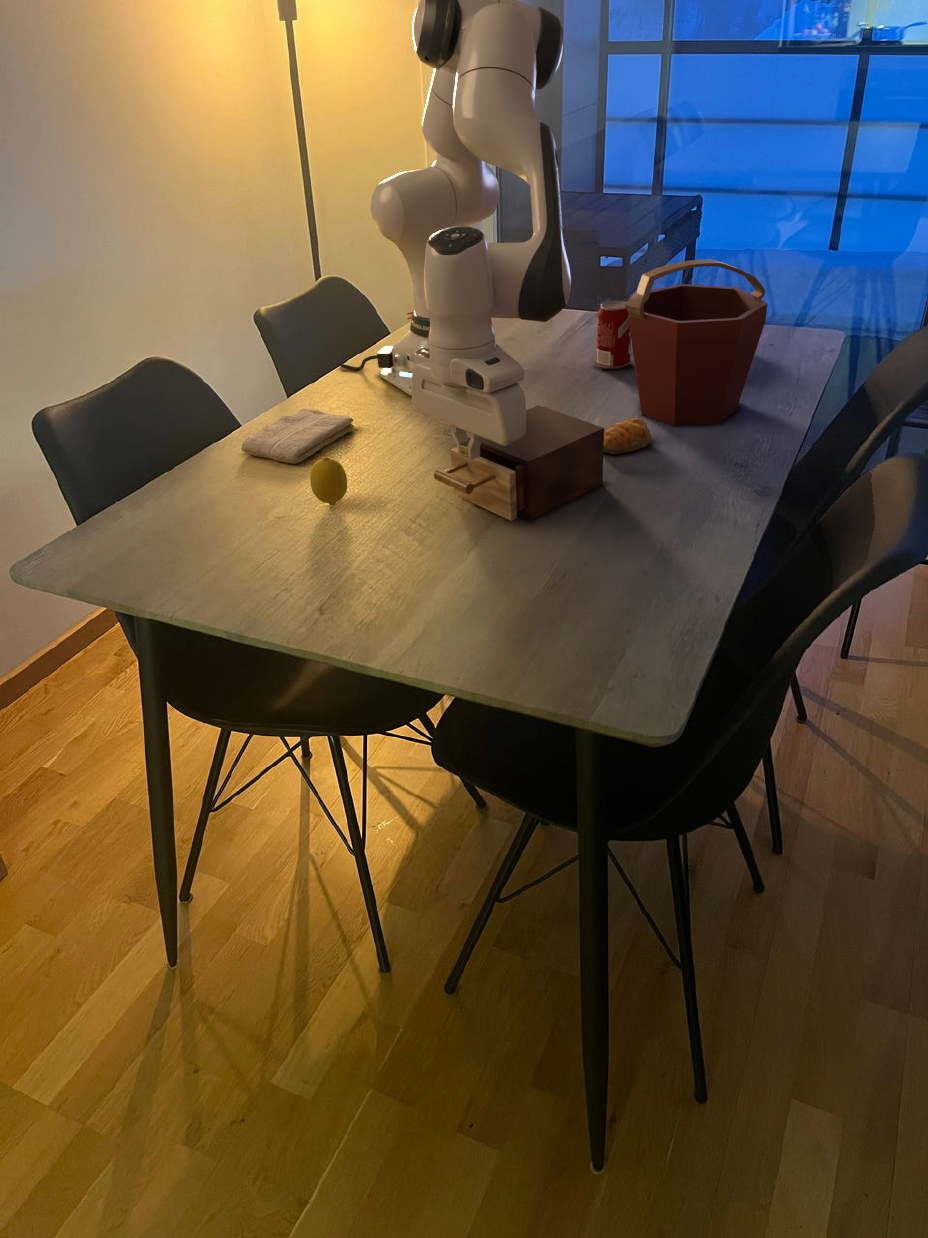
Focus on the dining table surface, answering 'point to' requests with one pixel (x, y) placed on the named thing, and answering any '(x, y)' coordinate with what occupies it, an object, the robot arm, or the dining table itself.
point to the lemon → (328, 480)
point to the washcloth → (297, 435)
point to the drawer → (487, 482)
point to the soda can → (613, 335)
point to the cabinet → (555, 459)
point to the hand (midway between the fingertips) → (468, 455)
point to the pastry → (626, 436)
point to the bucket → (693, 344)
